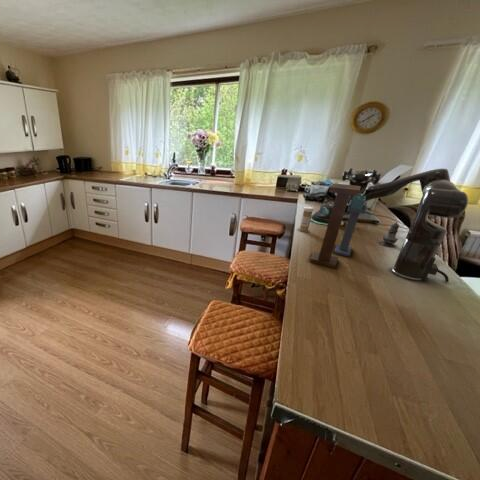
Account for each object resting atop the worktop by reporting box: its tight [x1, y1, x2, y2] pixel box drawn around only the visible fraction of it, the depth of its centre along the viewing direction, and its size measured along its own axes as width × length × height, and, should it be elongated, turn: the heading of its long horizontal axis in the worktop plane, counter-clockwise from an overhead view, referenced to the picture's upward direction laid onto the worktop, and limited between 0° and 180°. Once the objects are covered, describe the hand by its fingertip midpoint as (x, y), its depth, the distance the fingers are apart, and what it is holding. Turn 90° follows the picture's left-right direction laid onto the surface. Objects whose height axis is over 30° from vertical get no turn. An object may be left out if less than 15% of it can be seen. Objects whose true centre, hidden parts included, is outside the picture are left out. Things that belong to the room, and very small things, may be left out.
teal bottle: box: [351, 193, 366, 210], centre depth 112 cm, size 4×19×4 cm, turn 142°
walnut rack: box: [309, 183, 361, 269], centre depth 103 cm, size 9×10×32 cm
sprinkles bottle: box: [298, 206, 314, 233], centre depth 141 cm, size 5×5×14 cm
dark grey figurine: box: [380, 221, 400, 248], centre depth 124 cm, size 6×6×12 cm
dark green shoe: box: [310, 204, 345, 226], centre depth 160 cm, size 15×19×20 cm
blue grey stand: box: [333, 200, 368, 258], centre depth 114 cm, size 6×10×23 cm, turn 142°
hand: (362, 171), depth 116 cm, fingers open, 8 cm apart
